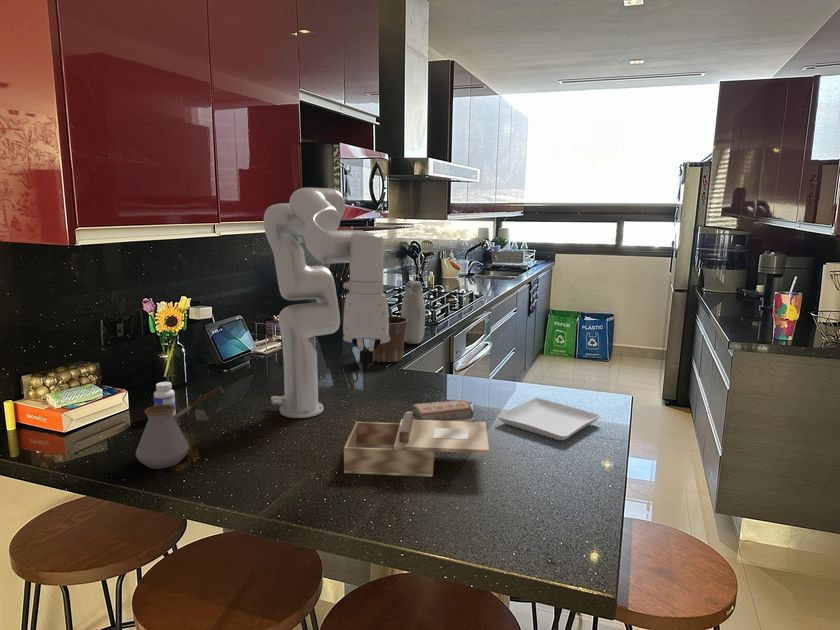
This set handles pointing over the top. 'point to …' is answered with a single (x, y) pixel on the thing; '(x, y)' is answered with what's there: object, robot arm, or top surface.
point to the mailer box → (383, 452)
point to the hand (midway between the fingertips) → (366, 366)
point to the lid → (441, 436)
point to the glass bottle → (413, 312)
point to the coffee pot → (164, 436)
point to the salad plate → (548, 418)
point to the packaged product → (443, 411)
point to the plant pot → (392, 342)
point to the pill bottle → (164, 395)
